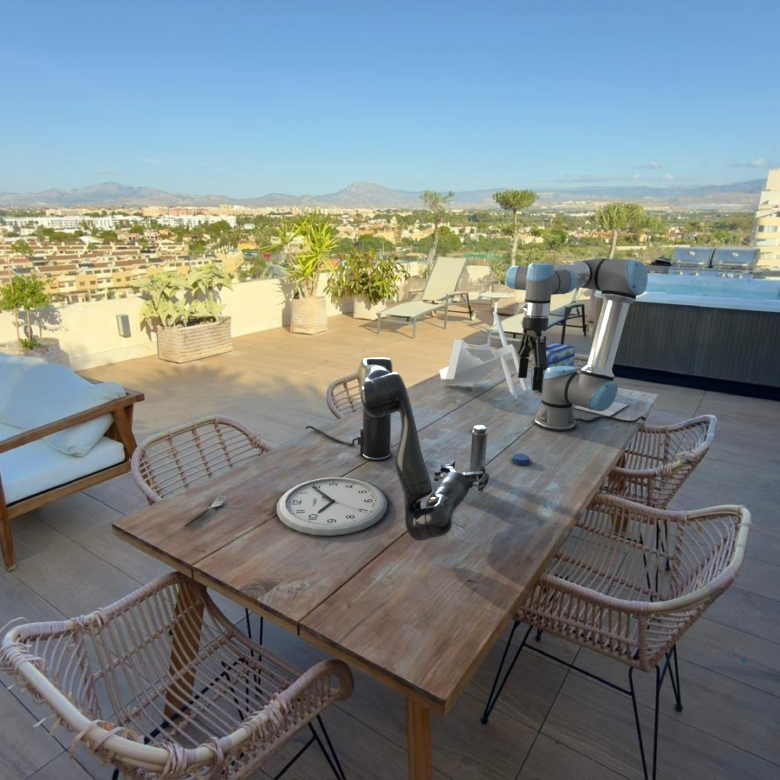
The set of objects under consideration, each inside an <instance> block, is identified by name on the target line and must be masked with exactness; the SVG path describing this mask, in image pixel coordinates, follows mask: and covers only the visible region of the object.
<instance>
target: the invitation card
mask: <svg viewBox="0 0 780 780" xmlns="http://www.w3.org/2000/svg"><path fill="white" fill-rule="evenodd" d="M628 406H629V404H627V403H623V402H618V401H615V400H614V401H613V403H612V404H611V406H609V408H607V409H606V410H604V411H596V410H589V409H588V408H585V407H581V406H578V405H575V406H574V407H573V409H575V410H581V411H584V412H587V413H593V414H596V415H600V416H609V417H612V416H613V415H614V414H616V413H617V412H619V411H621V410H623V409H624V408H626V407H628Z"/></svg>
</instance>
